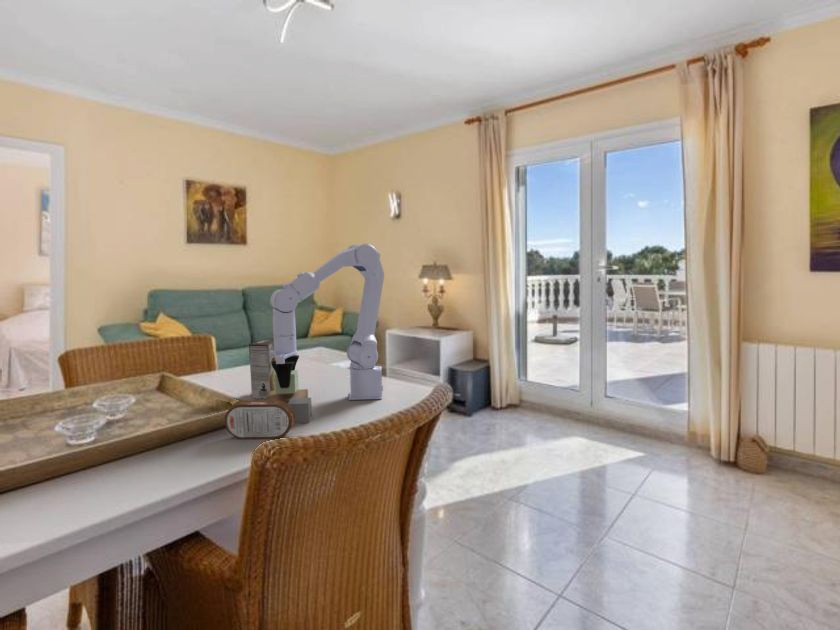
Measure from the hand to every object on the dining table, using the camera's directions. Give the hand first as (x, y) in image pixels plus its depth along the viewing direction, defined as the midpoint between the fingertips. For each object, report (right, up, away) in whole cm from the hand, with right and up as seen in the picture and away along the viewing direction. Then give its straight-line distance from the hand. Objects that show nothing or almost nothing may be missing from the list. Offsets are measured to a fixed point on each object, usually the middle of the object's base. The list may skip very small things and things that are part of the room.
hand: (286, 384), depth 123 cm
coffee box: (-9, -5, +14) cm, 17 cm away
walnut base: (0, -7, +1) cm, 7 cm away
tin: (0, -9, -20) cm, 22 cm away
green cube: (0, -2, 0) cm, 2 cm away
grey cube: (+6, -8, -9) cm, 13 cm away
